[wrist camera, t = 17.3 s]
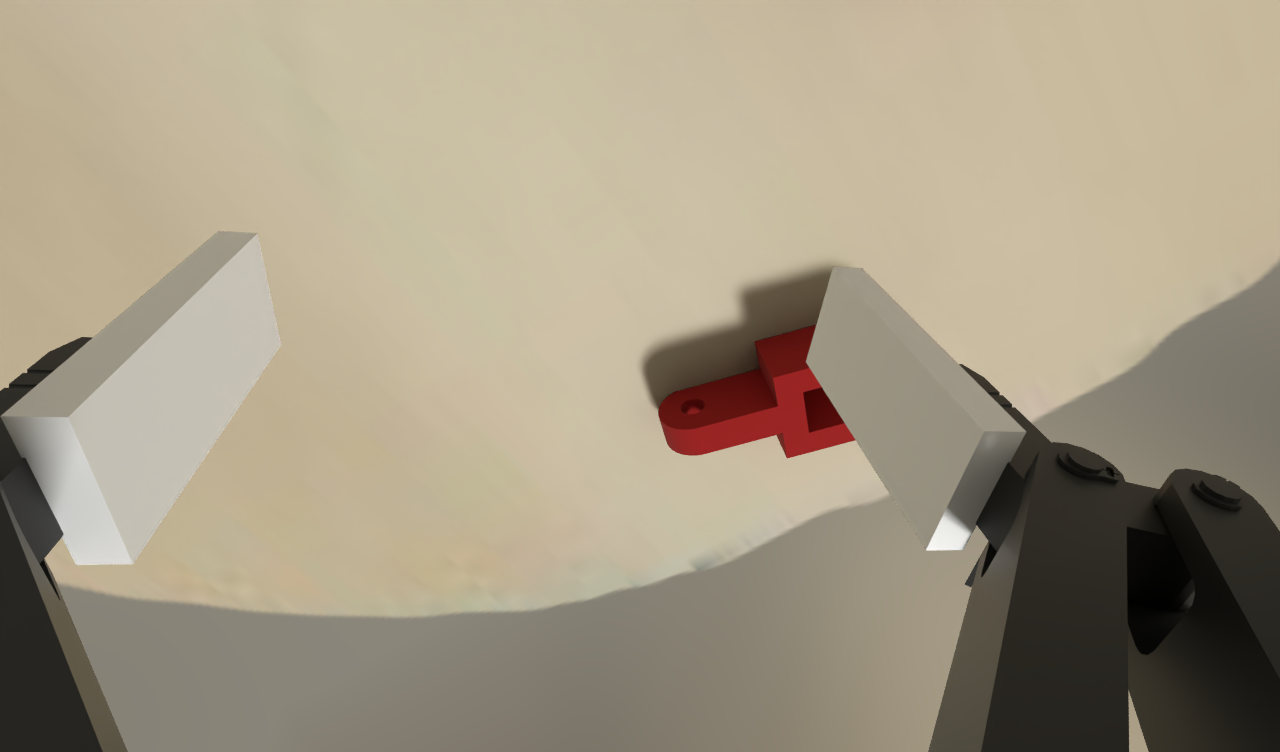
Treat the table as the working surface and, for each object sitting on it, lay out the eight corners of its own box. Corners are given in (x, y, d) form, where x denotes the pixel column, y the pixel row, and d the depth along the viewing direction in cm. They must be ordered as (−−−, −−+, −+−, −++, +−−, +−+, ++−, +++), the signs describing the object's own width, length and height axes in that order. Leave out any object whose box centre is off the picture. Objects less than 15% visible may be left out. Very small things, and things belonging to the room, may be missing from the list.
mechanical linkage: (863, 310, 46) (893, 345, 42) (869, 389, 50) (897, 428, 46) (646, 369, 47) (655, 410, 43) (668, 443, 51) (678, 487, 47)
